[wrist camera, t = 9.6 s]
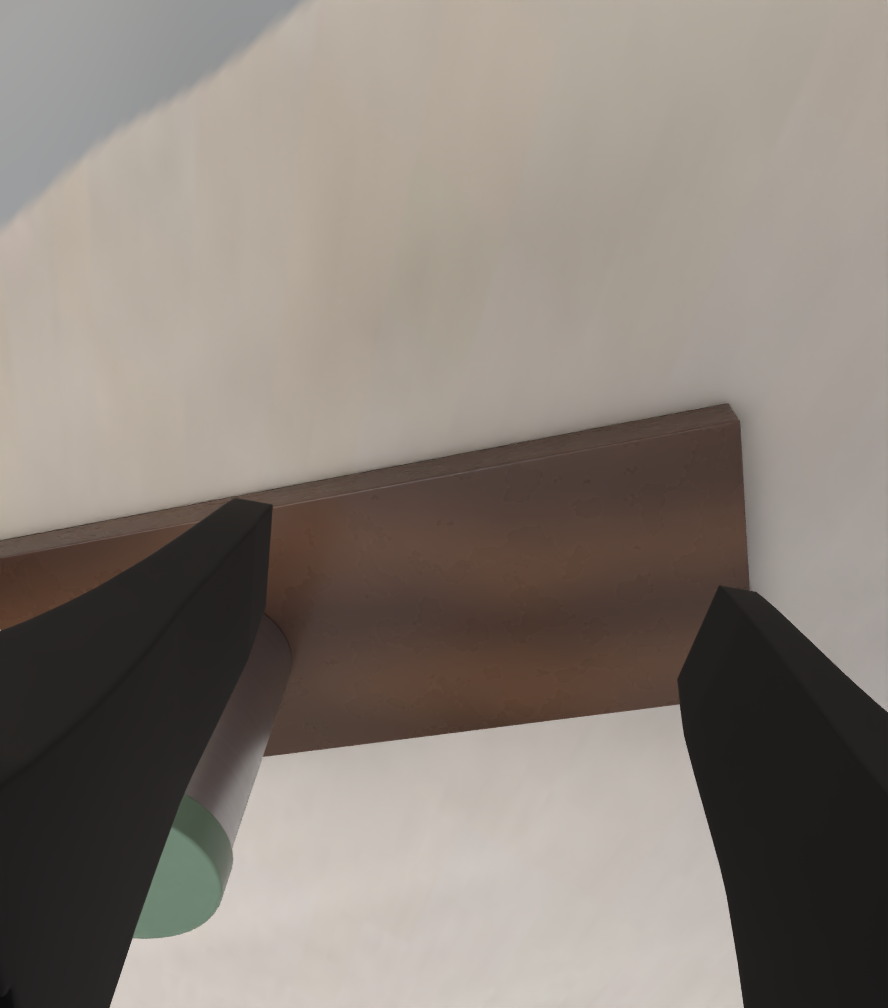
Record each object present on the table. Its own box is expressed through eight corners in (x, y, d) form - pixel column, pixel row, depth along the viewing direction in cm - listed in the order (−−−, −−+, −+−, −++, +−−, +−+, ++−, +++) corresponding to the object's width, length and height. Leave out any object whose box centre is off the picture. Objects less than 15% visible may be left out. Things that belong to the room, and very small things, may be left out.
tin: (317, 699, 27) (253, 931, 20) (177, 719, 27) (67, 947, 20) (264, 576, 24) (168, 792, 17) (111, 602, 25) (-40, 817, 18)
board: (745, 669, 26) (755, 695, 25) (112, 753, 30) (98, 778, 29) (728, 402, 21) (740, 420, 20) (-22, 544, 26) (-44, 565, 24)
